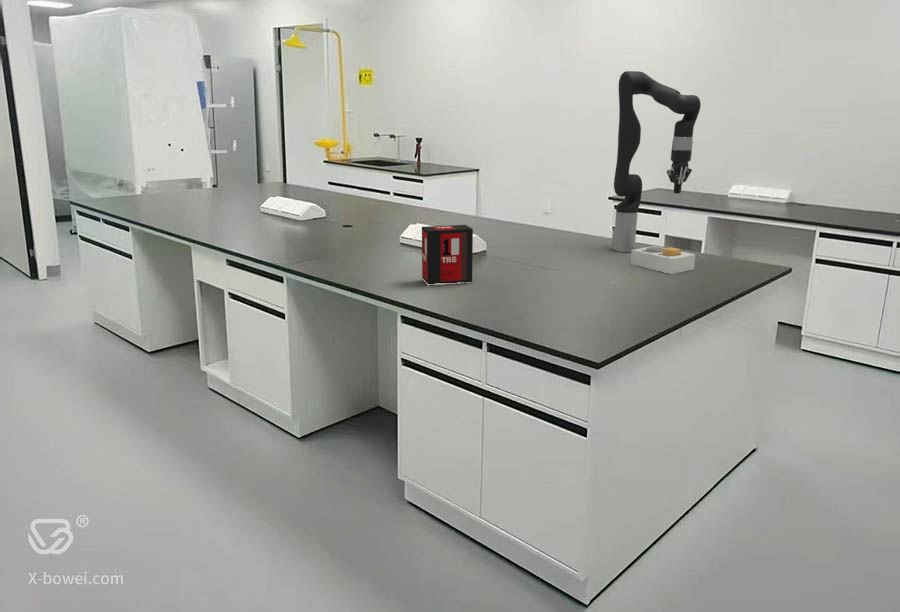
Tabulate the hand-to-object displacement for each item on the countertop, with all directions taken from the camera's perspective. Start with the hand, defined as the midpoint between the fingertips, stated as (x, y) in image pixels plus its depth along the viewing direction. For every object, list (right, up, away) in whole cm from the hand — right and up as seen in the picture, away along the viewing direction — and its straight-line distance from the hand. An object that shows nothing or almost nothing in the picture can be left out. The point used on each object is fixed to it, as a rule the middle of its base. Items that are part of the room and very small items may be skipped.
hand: (677, 193), depth 270 cm
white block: (-8, -26, +5) cm, 27 cm away
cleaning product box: (-91, -36, -21) cm, 100 cm away
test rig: (-5, -29, +2) cm, 30 cm away
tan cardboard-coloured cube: (-3, -27, -2) cm, 27 cm away
